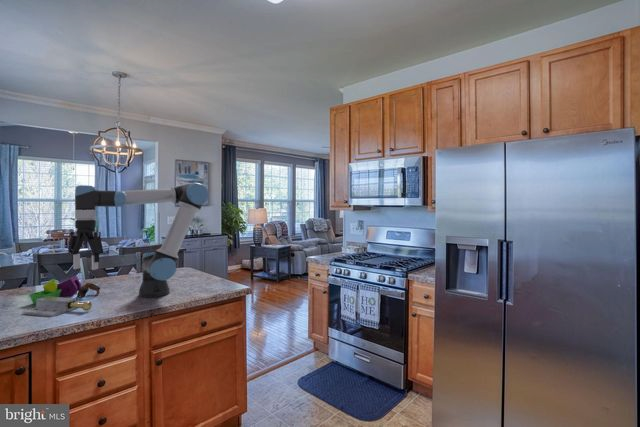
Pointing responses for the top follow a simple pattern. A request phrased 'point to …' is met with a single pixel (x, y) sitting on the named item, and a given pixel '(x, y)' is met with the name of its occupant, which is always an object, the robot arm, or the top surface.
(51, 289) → the fruit basket
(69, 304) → the pin
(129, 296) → the top surface
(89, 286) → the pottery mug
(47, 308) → the hinge
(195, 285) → the top surface
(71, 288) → the mounting bracket
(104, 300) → the top surface
